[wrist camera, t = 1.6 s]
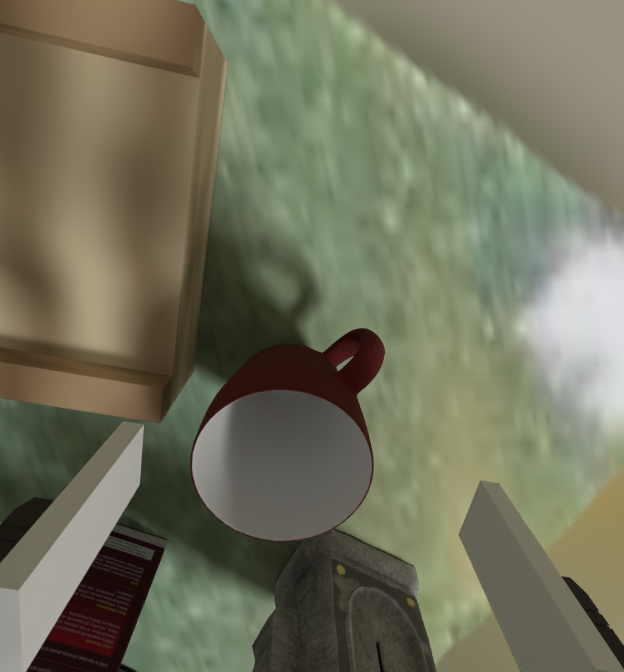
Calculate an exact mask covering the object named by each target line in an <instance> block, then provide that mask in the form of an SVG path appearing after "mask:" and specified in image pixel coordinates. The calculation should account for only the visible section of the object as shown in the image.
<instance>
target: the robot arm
mask: <svg viewBox="0 0 624 672" xmlns="http://www.w3.org/2000/svg"><path fill="white" fill-rule="evenodd" d="M143 432H144V424H139V423H133V422H127V421H123V422H122V423H121V424H120V425H119V426H118V428H117V429H116V430H115V431H114V432H113V433H112V435H111V436H110V437H109V438H108V439H107V440H106V441H105V443H104V444H103V445H102V446H101V447H100V448H99V450H98V451H97V452H96V453H95V454H94V455H93V456H92V458H91V459H90V460H89V461H88V462H87V463H86V465H85V466H84V467H83V468H82V469H81V470H80V472H79V473H78V474H77V475H76V476H75V477H74V478H73V480H72V481H71V482H70V483H69V484H68V485H67V487H66V488H65V489H64V490H63V491H62V492H61V494H60V495H59V496H58V497H57V498H56V499H55V500H50V499H43V498H37V497H35V498H33V499H31V500H30V501H28V502H26V503H25V504H23V505H21V506H20V507H18V508H16V509H15V510H14V511H13V512H12V513H11V514H10V515H9V516H8V517H7V518H6V519H5V520H4V521H3V522H2V523H1V525H0V672H26V671H27V669H28V667H29V666H30V664H31V662H32V661H33V659H34V658H35V656H36V654H37V653H38V651H39V649H40V648H41V646H42V644H43V643H44V641H45V639H46V638H47V636H48V635H49V633H50V631H51V630H52V628H53V626H54V625H55V623H56V621H57V620H58V618H59V616H60V615H61V613H62V612H63V610H64V608H65V607H66V605H67V603H68V602H69V600H70V598H71V597H72V595H73V593H74V592H75V590H76V589H77V587H78V585H79V584H80V582H81V580H82V579H83V577H84V575H85V574H86V572H87V571H88V569H89V567H90V566H91V564H92V562H93V561H94V559H95V557H96V556H97V554H98V552H99V551H100V549H101V548H102V546H103V544H104V543H105V541H106V539H107V538H108V536H109V534H110V533H111V531H112V529H113V528H114V526H115V525H116V523H117V521H118V520H119V518H120V516H121V515H122V513H123V511H124V510H125V508H126V506H127V505H128V503H129V502H130V500H131V498H132V497H133V495H134V493H135V492H136V490H137V488H138V487H139V485H140V475H141V461H142V446H143ZM459 536H460V539H461V541H462V543H463V545H464V548H465V550H466V552H467V554H468V556H469V559H470V561H471V563H472V565H473V568H474V570H475V572H476V574H477V577H478V579H479V581H480V583H481V586H482V588H483V590H484V592H485V594H486V597H487V599H488V601H489V603H490V606H491V608H492V610H493V612H494V615H495V617H496V619H497V621H498V623H499V626H500V628H501V630H502V632H503V635H504V637H505V639H506V641H507V644H508V646H509V648H510V650H511V653H512V655H513V657H514V659H515V661H516V664H517V666H518V668H519V670H520V672H624V645H623V644H622V643H621V641H620V640H619V638H618V637H617V635H616V634H615V633H614V631H613V630H612V629H610V628H609V624H608V623H607V621H606V620H605V619H604V617H603V616H602V615H601V614H599V610H598V609H597V608H596V606H595V605H594V603H593V602H592V601H591V599H590V597H589V596H588V595H587V593H586V592H585V591H584V590H583V589H582V588H580V587H579V586H578V585H577V584H576V583H575V582H574V581H573V580H572V579H571V578H569V577H563V576H561V575H560V574H559V572H558V571H557V569H556V568H555V566H554V565H553V563H552V562H551V560H550V559H549V557H548V556H547V554H546V553H545V551H544V550H543V548H542V547H541V545H540V544H539V542H538V541H537V539H536V538H535V536H534V535H533V533H532V532H531V530H530V529H529V528H528V526H527V525H526V523H525V522H524V520H523V519H522V517H521V516H520V514H519V513H518V511H517V510H516V508H515V507H514V505H513V504H512V502H511V501H510V499H509V498H508V496H507V495H506V493H505V492H504V490H503V489H502V487H501V486H500V484H499V483H493V482H487V481H481V480H480V483H479V485H478V488H477V490H476V493H475V495H474V498H473V500H472V503H471V505H470V508H469V510H468V513H467V515H466V518H465V520H464V523H463V525H462V528H461V530H460V533H459Z"/></svg>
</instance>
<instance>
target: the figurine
mask: <svg viewBox="0 0 624 672" xmlns="http://www.w3.org/2000/svg"><path fill="white" fill-rule="evenodd" d="M418 586H419V582H418V578H417V573H416V569H415V567H414V566H411V565H409V564H407V563H405V562H403V561H401V560H398V559H396V558H394V557H392V556H390V555H388V554H386V553H384V552H382V551H379V550H377V549H375V548H372V547H370V546H368V545H366V544H364V543H362V542H360V541H358V540H356V539H354V538H352V537H350V536H348V535H345V534H342V533H340V532H338V531H336V530H334V529H332V530H330V531H328V532H326V533H323V534H321V535H318V536H315V537H312V538H308V539H303V541H302V542H301V543H300V545H299V546H298V547H297V549H296V551H295V552H294V554H293V555H292V557H291V558H290V560H289V561H288V563H287V564H286V566H285V568H284V569H283V571H282V573H281V574H280V576H279V578H278V580H277V582H276V587H275V605H276V609H275V610H274V611H273V613H272V614H271V615H270V617H269V618H268V619H267V621H266V623H265V624H264V626H263V628H262V630H261V631H260V633H259V635H258V637H257V638H256V640H255V642H254V644H253V645H252V647H253V652H254V657H255V664H254V668H253V672H437V671H436V668H435V664H434V660H433V656H432V651H431V647H430V643H429V639H428V636H427V633H426V629H425V626H424V623H423V620H422V616H421V613H420V609H419V604H418V602H417V595H418Z"/></svg>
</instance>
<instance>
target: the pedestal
mask: <svg viewBox="0 0 624 672" xmlns="http://www.w3.org/2000/svg"><path fill="white" fill-rule="evenodd" d="M227 65H228V63H227V61H226V60H225V58H224V56H223V54H222V52H221V51H220V49H219V47H218V45H217V43H216V41H215V40H214V38H213V36H212V34H211V32H210V31H209V29H208V27H207V25H206V23H205V22H204V20H203V18H202V16H201V14H200V12H199V11H198V9H197V7H196V5H193V4H189V3H185V2H181V1H177V0H0V398H3V399H9V400H16V401H22V402H28V403H35V404H41V405H48V406H54V407H60V408H67V409H73V410H79V411H86V412H92V413H98V414H105V415H111V416H117V417H124V418H130V419H136V420H143V421H149V422H155V423H161V421H162V420H163V418H164V416H165V415H166V413H167V412H168V410H169V409H170V407H171V406H172V404H173V403H174V401H175V400H176V398H177V396H178V395H179V393H180V392H181V390H182V389H183V387H184V386H185V384H186V383H187V381H188V380H189V378H190V377H191V375H192V373H193V372H194V364H195V355H196V346H197V337H198V328H199V319H200V310H201V301H202V292H203V283H204V274H205V264H206V255H207V246H208V237H209V228H210V219H211V210H212V201H213V192H214V183H215V174H216V165H217V156H218V147H219V138H220V128H221V119H222V110H223V101H224V92H225V83H226V74H227Z"/></svg>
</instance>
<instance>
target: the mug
mask: <svg viewBox="0 0 624 672" xmlns="http://www.w3.org/2000/svg"><path fill="white" fill-rule="evenodd" d="M384 355H385V349H384V345H383V343H382V341H381V340H380V338H379V337H378V336H377V335H376V334H375V333H374V332H373V331H371V330H369V329H365V328H359V329H355V330H352V331H350V332H348V333H347V334H345V335H344V336H342V337H341V338H339V339H338V340H337V341H336V342H335V343H333V344H332V345H331V346H330V347H329V348H328V349H327V350H325V351H324V352H323V353H321V352H318V351H316V350H313V349H311V348H308V347H305V346H301V345H296V344H281V345H275V346H272V347H269V348H266V349H264V350H262V351H260V352H258V353H257V354H255V355H254V356H253V357H251V358H250V359H249V360H248V361H247V362H246V363H245V364H244V365H243V366H242V367H241V368H240V369H239V370H238V371H237V372H236V373H235V374H234V375H233V376H232V377H231V379H230V380H229V381H228V382H227V383H226V384H225V385H224V386H223V387H222V388H221V390H220V391H219V392H218V393H217V395H216V396H215V398H214V399H213V401H212V403H211V404H210V406H209V408H208V410H207V412H206V414H205V416H204V419H203V421H202V423H201V425H200V428H199V430H198V433H197V435H196V438H195V441H194V444H193V448H192V452H191V460H190V465H191V476H192V480H193V484H194V486H195V489H196V491H197V493H198V495H199V497H200V499H201V501H202V502H203V504H204V505H205V506H206V507H207V509H208V510H209V511H210V512H211V513H212V514H213V515H214V516H215V517H216V518H217V519H219V520H220V521H221V522H222V523H224V524H225V525H227V526H228V527H230V528H232V529H234V530H236V531H238V532H240V533H242V534H245V535H247V536H251V537H254V538H258V539H262V540H269V541H298V540H303V539H308V538H312V537H315V536H318V535H321V534H323V533H326V532H328V531H330V530H332V529H334V528H335V527H337V526H339V525H340V524H342V523H343V522H344V521H346V520H347V519H348V518H349V517H350V516H351V515H352V514H353V513H354V512H355V511H356V510H357V509H358V508H359V506H360V505H361V503H362V502H363V501H364V499H365V497H366V495H367V493H368V491H369V488H370V485H371V482H372V477H373V468H374V462H373V452H372V447H371V443H370V438H369V434H368V430H367V426H366V423H365V420H364V416H363V413H362V411H361V408H360V405H359V402H358V399H357V394H358V393H359V392H360V391H361V390H363V389H364V388H365V387H366V386H367V385H368V384H369V383H370V382H371V381H372V380H373V379H374V378H375V376H376V375H377V373H378V372H379V370H380V368H381V366H382V363H383V360H384ZM352 356H354V357H353V358H352V359H351V360H350V361H349V363H347V364H346V365H345V366H344V367H343V368H342V369H341V370H339V371H337V368H336V367H337V366H338V365H339V364H340V363H342V362H343V361H345V360H347V359H348V358H350V357H352Z"/></svg>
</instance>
